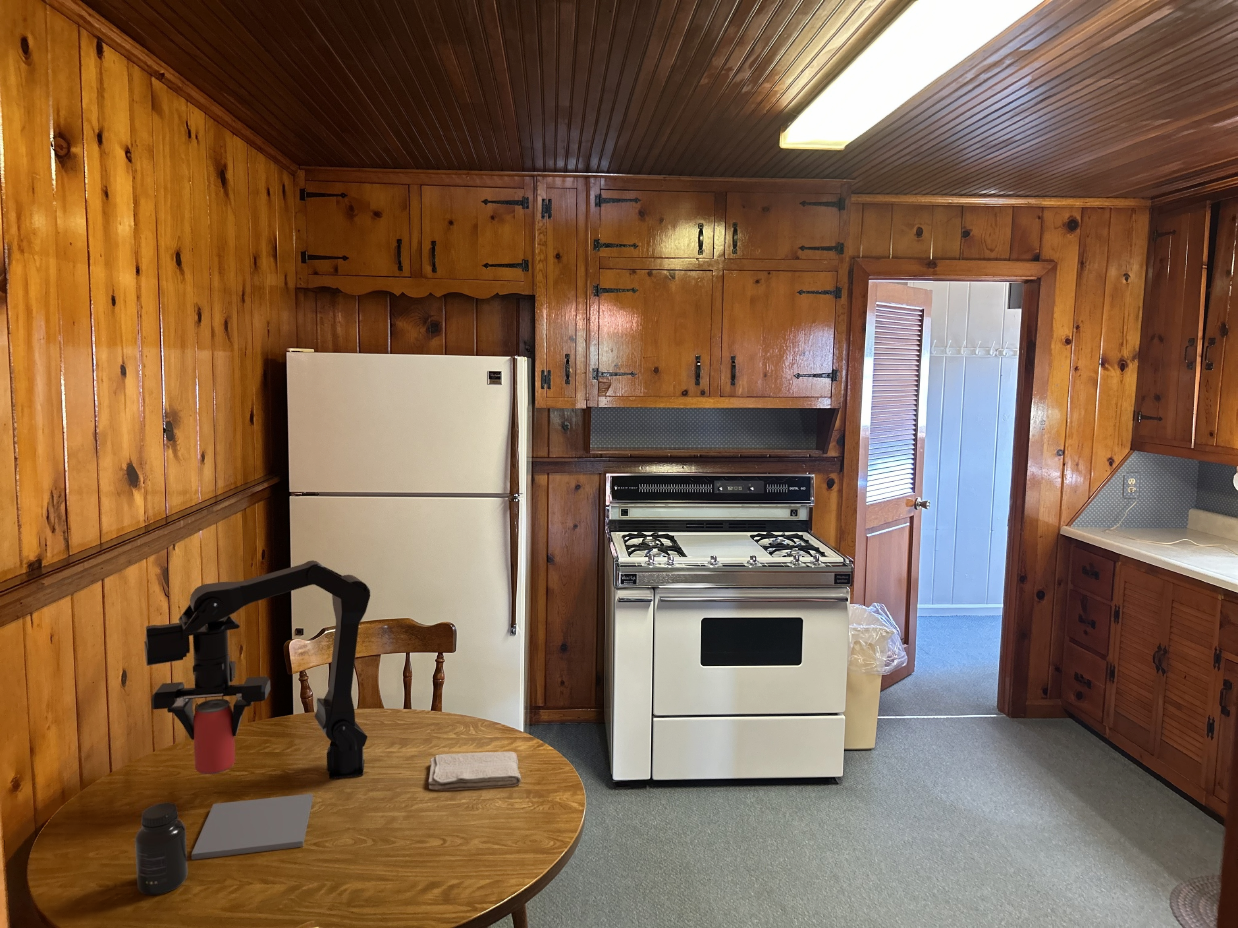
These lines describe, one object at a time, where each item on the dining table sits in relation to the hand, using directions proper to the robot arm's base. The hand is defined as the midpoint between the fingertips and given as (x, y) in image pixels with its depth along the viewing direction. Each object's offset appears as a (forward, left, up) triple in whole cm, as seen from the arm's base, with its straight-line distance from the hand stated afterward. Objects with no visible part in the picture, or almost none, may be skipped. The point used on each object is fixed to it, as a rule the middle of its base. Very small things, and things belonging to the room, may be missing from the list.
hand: (214, 736), depth 147 cm
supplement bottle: (+3, +24, -13) cm, 27 cm away
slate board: (-8, +10, -13) cm, 18 cm away
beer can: (0, 0, -6) cm, 6 cm away
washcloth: (-47, -1, -14) cm, 49 cm away
